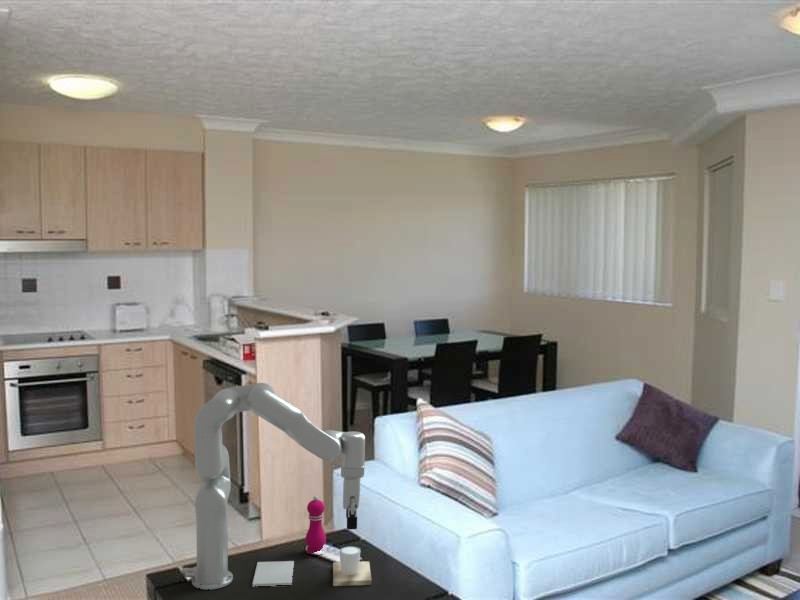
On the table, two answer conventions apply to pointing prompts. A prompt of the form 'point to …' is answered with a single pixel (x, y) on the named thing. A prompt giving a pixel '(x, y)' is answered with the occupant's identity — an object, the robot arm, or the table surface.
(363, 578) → the birch board
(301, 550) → the table surface
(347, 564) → the shot glass
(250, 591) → the table surface
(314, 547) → the pepper mill
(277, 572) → the grey tile
